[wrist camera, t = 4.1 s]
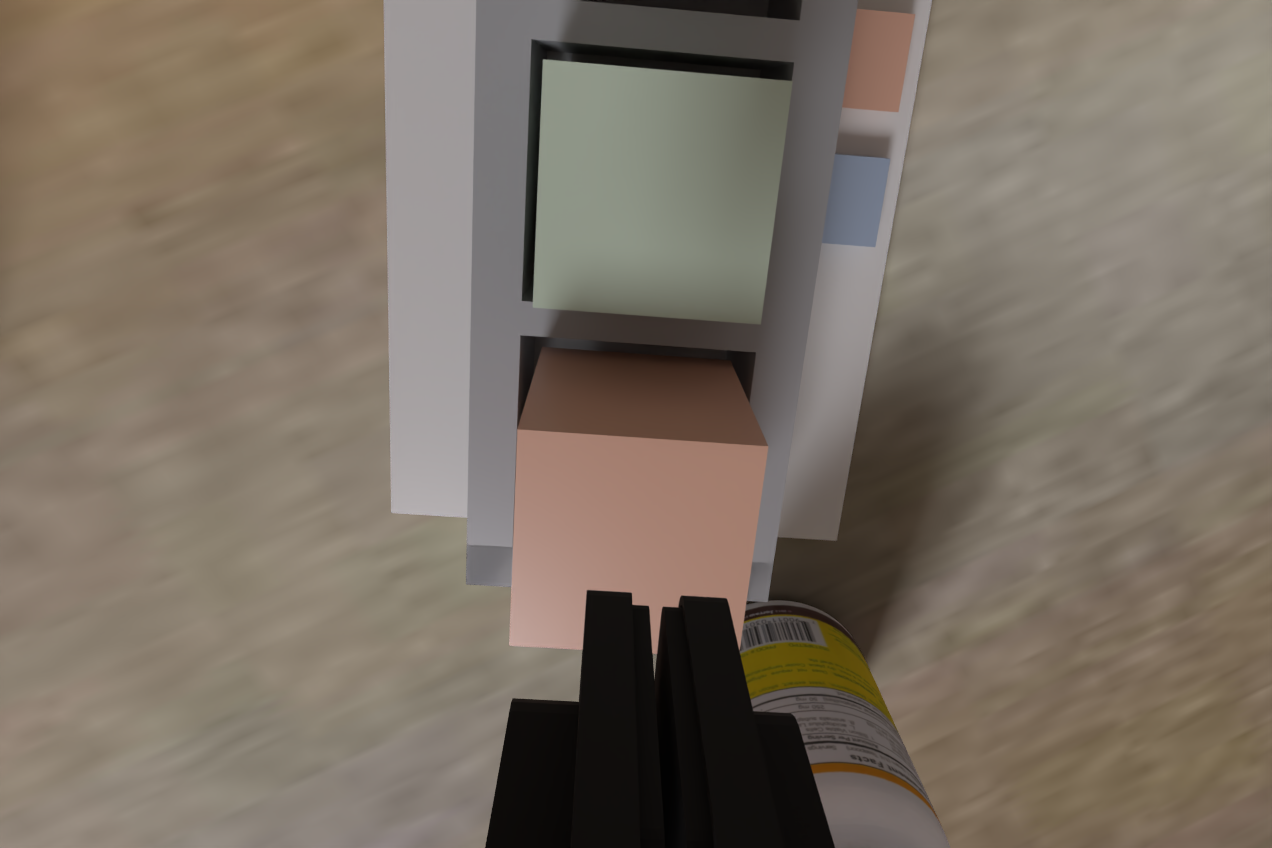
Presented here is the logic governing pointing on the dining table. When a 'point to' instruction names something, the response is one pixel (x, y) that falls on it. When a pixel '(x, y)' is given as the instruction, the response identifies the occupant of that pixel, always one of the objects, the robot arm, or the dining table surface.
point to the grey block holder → (516, 332)
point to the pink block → (631, 489)
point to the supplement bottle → (838, 726)
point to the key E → (657, 191)
